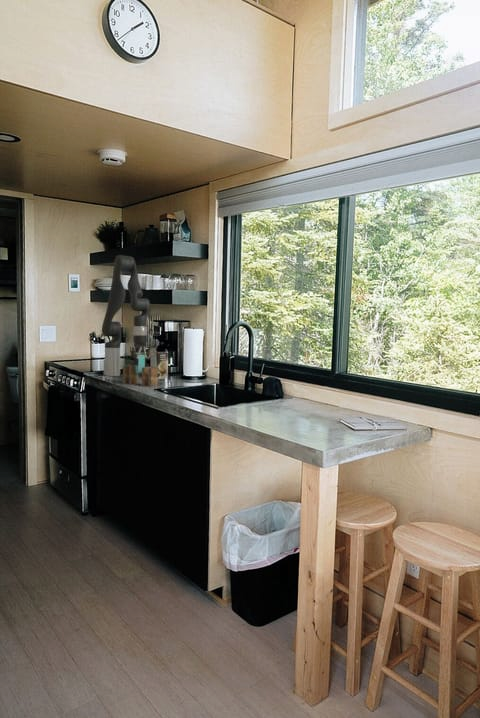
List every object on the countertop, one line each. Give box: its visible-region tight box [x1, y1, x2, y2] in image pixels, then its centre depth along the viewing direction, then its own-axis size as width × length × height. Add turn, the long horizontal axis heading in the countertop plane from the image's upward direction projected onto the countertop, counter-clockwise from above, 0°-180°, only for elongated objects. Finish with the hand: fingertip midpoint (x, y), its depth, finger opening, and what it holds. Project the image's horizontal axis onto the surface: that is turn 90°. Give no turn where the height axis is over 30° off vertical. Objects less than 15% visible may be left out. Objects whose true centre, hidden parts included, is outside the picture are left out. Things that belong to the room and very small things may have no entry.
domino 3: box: [136, 354, 146, 374], centre depth 293 cm, size 2×5×10 cm, turn 145°
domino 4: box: [141, 366, 151, 387], centre depth 291 cm, size 2×5×10 cm, turn 145°
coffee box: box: [150, 351, 169, 380], centre depth 321 cm, size 9×6×16 cm
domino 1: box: [122, 364, 133, 384], centre depth 299 cm, size 2×5×10 cm, turn 145°
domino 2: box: [128, 364, 139, 385], centre depth 297 cm, size 2×5×10 cm, turn 145°
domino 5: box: [147, 367, 159, 387], centre depth 288 cm, size 2×5×10 cm, turn 145°
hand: (140, 364), depth 293 cm, fingers closed on domino 3, 5 cm apart
